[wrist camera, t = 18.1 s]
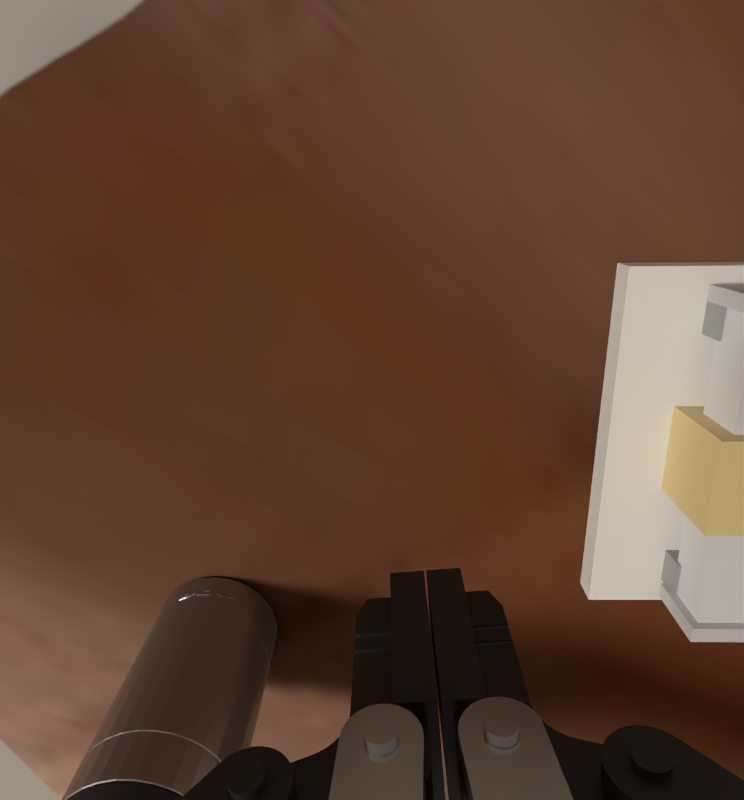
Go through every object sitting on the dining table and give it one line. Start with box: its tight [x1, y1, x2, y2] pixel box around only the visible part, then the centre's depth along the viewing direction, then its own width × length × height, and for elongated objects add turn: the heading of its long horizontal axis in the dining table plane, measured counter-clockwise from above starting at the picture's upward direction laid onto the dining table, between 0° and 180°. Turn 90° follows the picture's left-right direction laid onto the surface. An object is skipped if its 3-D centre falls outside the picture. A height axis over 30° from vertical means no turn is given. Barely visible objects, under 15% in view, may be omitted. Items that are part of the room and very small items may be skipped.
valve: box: [580, 262, 744, 642], centre depth 38 cm, size 24×14×10 cm, turn 1°
